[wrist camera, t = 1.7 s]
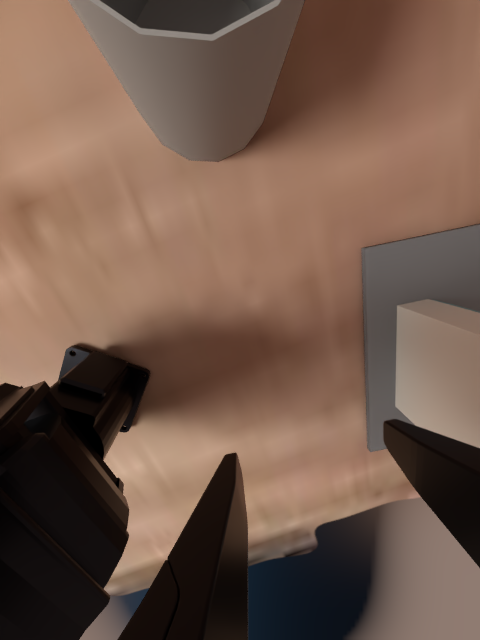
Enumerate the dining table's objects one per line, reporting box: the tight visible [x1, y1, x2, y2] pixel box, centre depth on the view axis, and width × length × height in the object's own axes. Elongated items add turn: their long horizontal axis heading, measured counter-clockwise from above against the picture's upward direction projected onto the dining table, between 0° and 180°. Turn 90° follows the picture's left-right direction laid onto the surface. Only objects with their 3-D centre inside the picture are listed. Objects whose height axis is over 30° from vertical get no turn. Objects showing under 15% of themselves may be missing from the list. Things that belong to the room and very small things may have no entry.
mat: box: [362, 224, 480, 452], centre depth 21 cm, size 20×20×1 cm
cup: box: [68, 0, 305, 162], centre depth 10 cm, size 8×8×10 cm
